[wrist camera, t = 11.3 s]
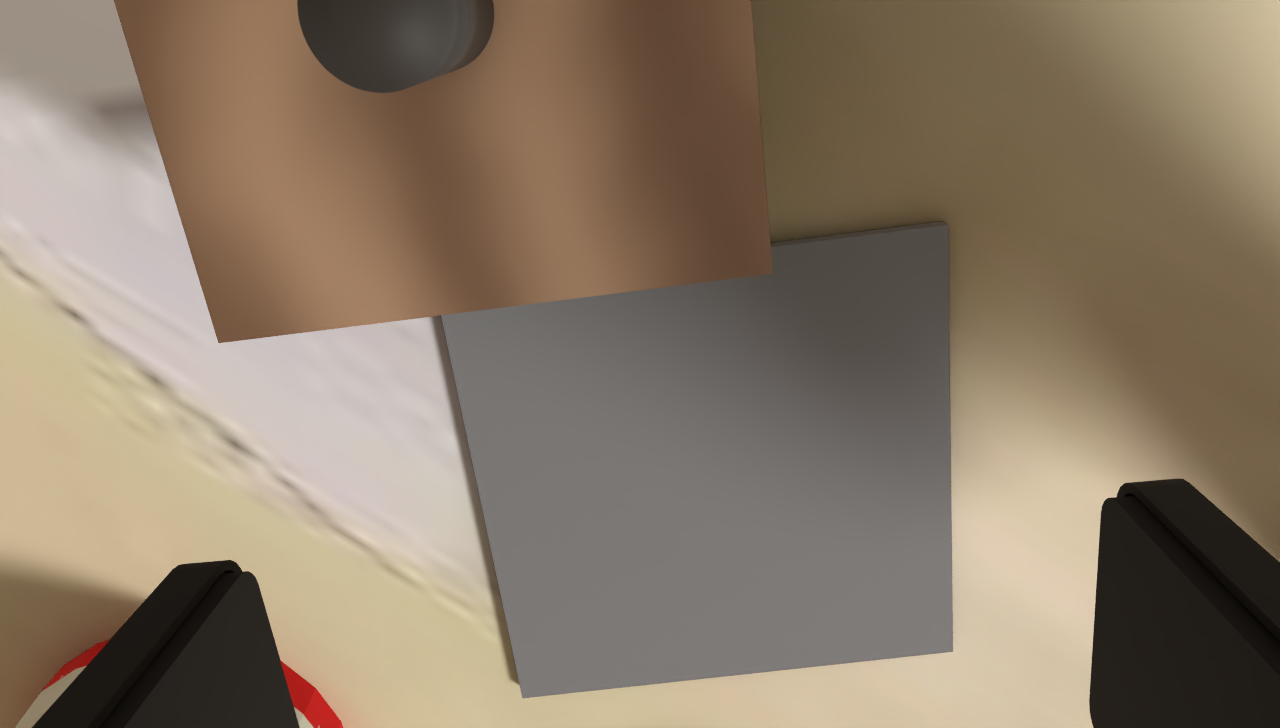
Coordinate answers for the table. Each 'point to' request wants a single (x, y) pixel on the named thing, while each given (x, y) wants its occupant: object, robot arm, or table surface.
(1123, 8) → the table surface
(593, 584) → the mat
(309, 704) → the kitchen timer
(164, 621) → the robot arm
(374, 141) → the lid
